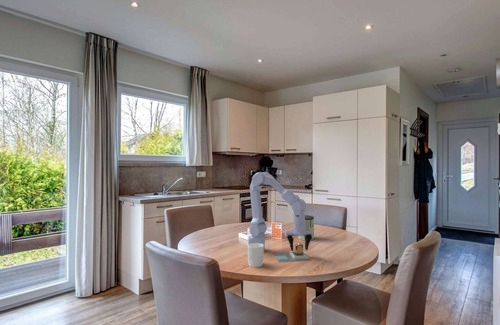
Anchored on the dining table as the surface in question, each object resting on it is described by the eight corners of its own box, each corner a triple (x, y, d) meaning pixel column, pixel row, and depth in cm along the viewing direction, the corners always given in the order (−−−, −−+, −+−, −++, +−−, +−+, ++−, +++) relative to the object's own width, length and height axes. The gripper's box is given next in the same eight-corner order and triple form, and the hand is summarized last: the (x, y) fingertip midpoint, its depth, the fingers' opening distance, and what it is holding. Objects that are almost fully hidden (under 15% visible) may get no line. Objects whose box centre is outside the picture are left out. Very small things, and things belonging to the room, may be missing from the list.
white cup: (263, 263, 141) (263, 242, 141) (264, 269, 133) (264, 247, 133) (247, 263, 141) (246, 243, 141) (247, 269, 133) (247, 247, 133)
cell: (296, 258, 146) (296, 245, 146) (294, 255, 150) (294, 242, 150) (304, 257, 146) (304, 244, 146) (301, 255, 150) (301, 242, 150)
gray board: (279, 264, 139) (279, 259, 139) (273, 255, 153) (273, 250, 153) (311, 262, 142) (311, 257, 142) (302, 253, 156) (302, 249, 156)
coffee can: (297, 236, 192) (297, 215, 193) (313, 236, 191) (312, 215, 192) (298, 240, 182) (298, 218, 182) (315, 240, 181) (314, 218, 181)
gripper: (287, 225, 143) (287, 252, 143) (315, 224, 145) (315, 251, 145) (283, 222, 150) (283, 248, 150) (310, 221, 152) (310, 247, 152)
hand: (299, 249), depth 148 cm, fingers open, 7 cm apart
